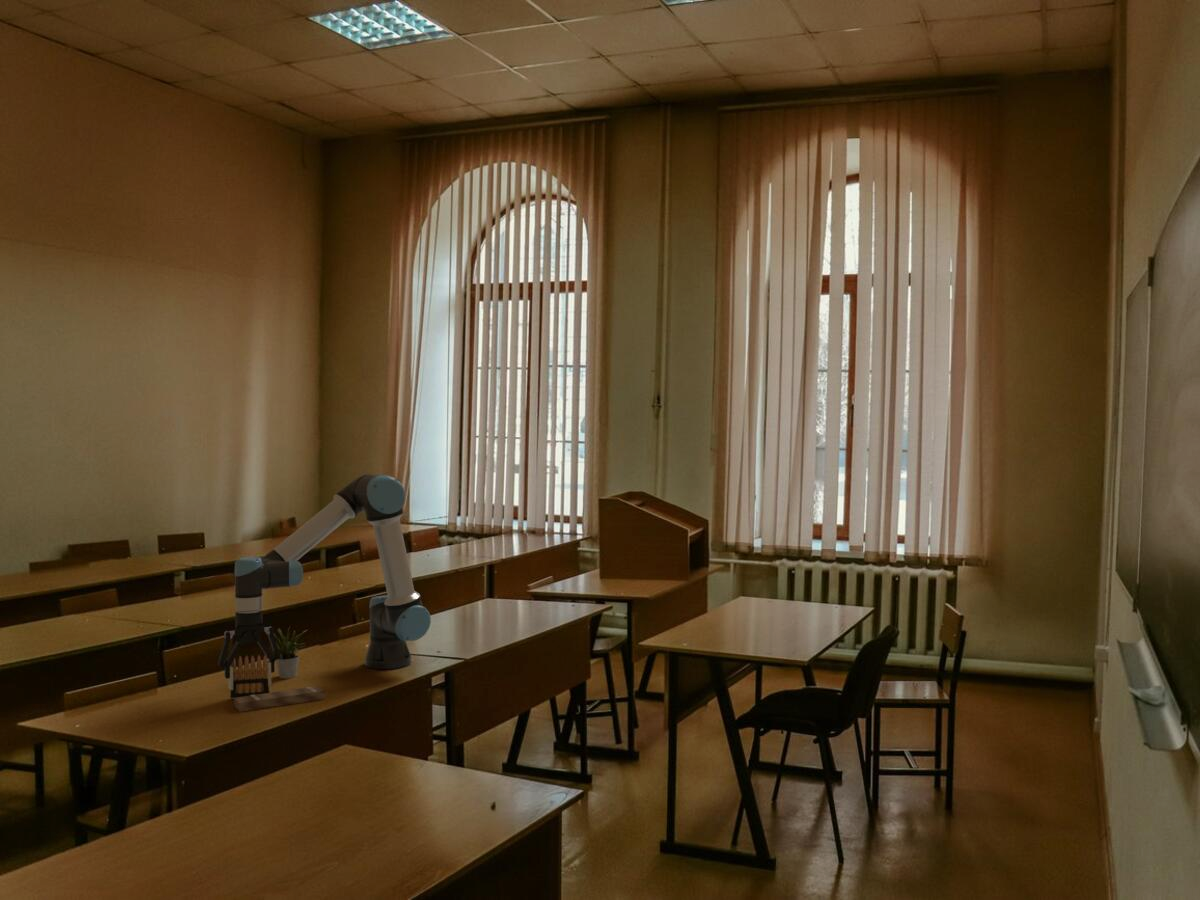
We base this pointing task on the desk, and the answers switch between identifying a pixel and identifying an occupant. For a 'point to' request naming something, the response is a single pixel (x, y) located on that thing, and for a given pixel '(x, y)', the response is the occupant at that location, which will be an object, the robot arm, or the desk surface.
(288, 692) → the plank
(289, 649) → the house plant
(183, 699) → the desk surface
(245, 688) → the ammunition clip
